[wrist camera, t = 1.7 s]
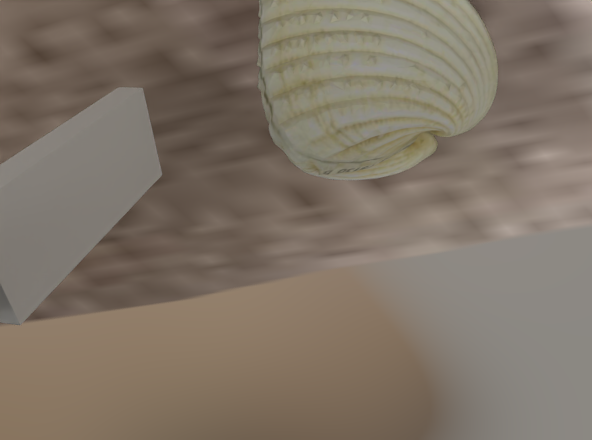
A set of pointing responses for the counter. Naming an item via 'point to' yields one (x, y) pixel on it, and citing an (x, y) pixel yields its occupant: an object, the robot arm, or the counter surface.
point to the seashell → (371, 81)
